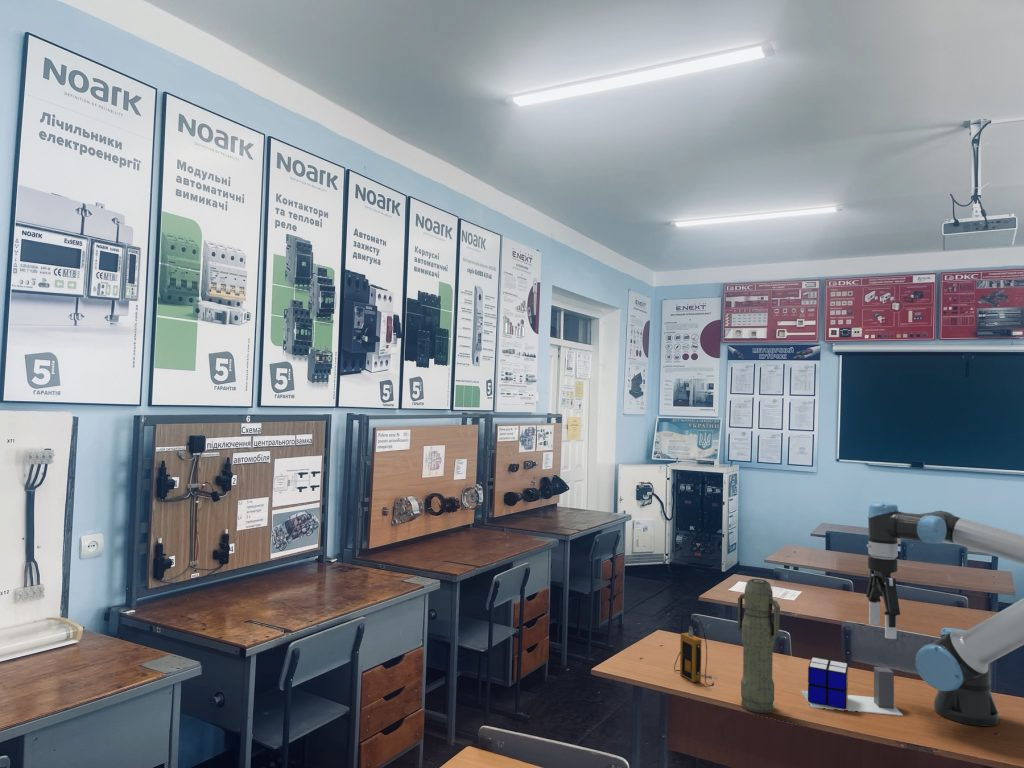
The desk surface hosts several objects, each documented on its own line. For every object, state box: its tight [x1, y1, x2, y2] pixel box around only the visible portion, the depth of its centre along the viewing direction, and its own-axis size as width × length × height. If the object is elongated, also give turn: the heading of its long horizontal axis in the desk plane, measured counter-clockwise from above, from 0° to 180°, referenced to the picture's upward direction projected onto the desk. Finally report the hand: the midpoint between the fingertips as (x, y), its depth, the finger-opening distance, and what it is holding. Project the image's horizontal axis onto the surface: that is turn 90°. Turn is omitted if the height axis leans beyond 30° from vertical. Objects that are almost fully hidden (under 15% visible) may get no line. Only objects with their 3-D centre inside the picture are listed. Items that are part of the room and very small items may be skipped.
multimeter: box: [673, 611, 718, 687], centre depth 221 cm, size 15×10×20 cm
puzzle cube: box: [807, 657, 849, 709], centre depth 204 cm, size 10×10×10 cm
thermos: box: [737, 578, 781, 714], centre depth 200 cm, size 9×12×35 cm
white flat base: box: [801, 666, 904, 717], centre depth 203 cm, size 24×12×10 cm, turn 80°
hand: (882, 631), depth 203 cm, fingers open, 13 cm apart
